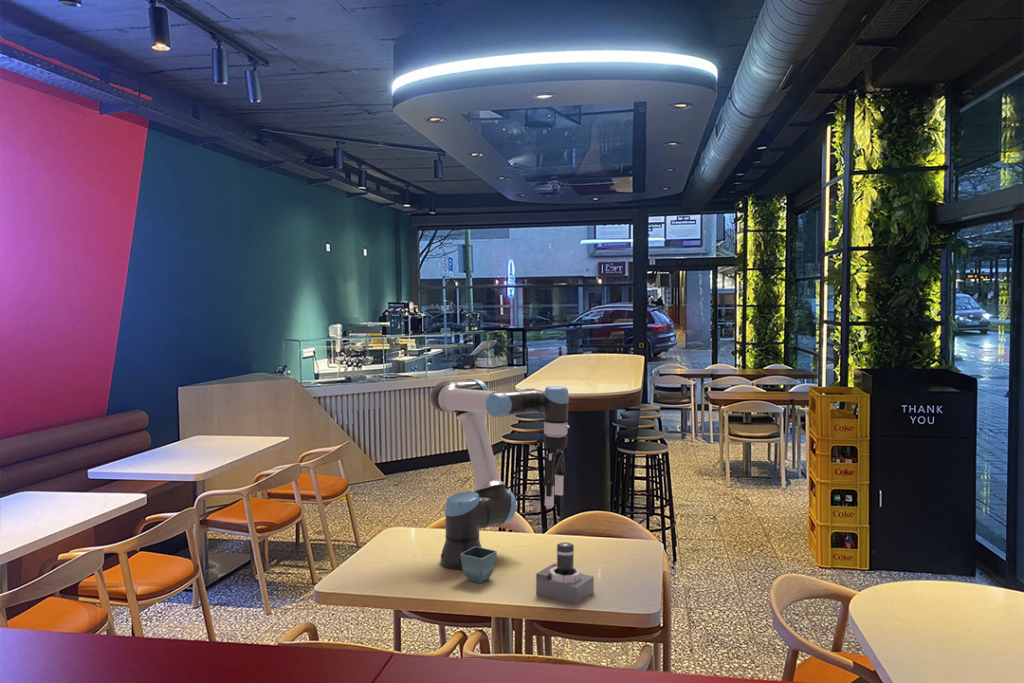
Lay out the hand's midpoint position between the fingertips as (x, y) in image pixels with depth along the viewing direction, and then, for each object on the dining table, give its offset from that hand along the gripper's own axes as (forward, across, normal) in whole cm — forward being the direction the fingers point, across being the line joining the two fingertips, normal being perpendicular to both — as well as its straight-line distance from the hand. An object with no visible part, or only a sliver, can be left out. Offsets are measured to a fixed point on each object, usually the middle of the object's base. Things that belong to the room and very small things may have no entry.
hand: (554, 500), depth 228 cm
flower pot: (+27, -7, +23) cm, 36 cm away
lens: (+21, -10, -6) cm, 24 cm away
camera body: (+26, -10, -6) cm, 28 cm away
